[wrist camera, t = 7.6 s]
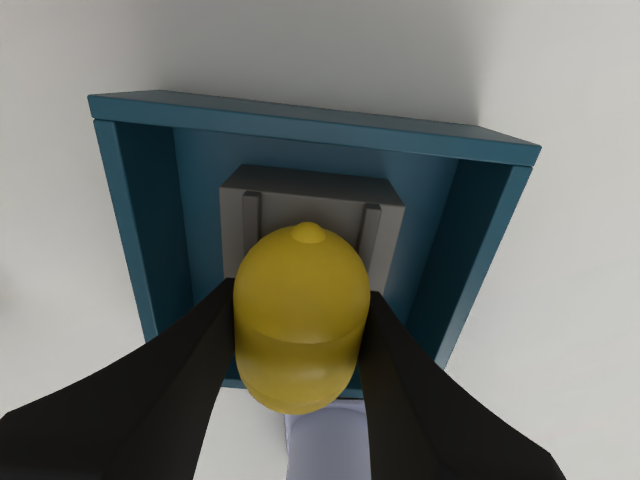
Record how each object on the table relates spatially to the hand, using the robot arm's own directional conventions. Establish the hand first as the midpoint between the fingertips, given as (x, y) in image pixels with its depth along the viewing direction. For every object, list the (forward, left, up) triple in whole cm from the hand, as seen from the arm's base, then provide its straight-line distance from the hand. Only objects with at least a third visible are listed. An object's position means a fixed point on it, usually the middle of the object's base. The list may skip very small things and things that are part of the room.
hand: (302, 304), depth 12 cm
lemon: (0, 0, -1) cm, 1 cm away
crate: (0, 0, -6) cm, 6 cm away
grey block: (0, 0, -5) cm, 5 cm away
